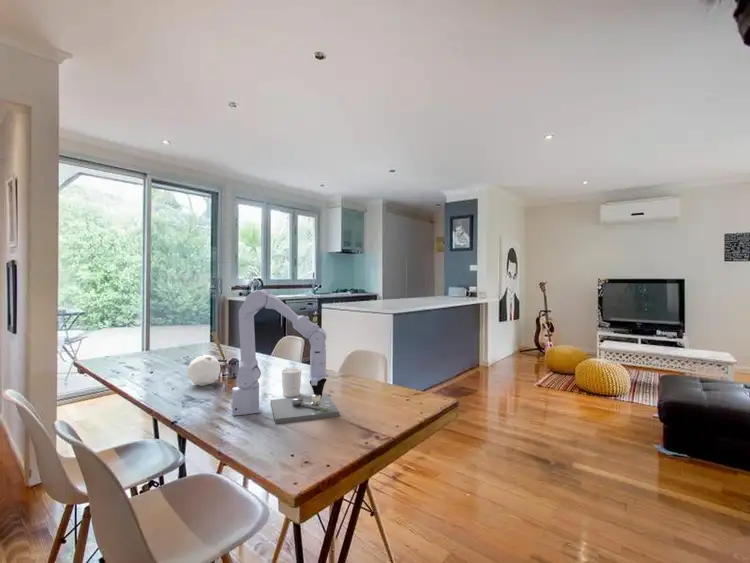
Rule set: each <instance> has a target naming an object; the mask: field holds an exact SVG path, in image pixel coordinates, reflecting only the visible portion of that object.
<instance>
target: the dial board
mask: <svg viewBox="0 0 750 563" xmlns="http://www.w3.org/2000/svg"><path fill="white" fill-rule="evenodd" d="M301 397H302V398H303V402H308V403H312V395H310V396H301ZM293 398H294V397H286V398H279V399H278V398H276V399H270V403H269V404H270V408H271V411H272V412H271V413H272V417H273V421H274V424H282V423H284V424H285V423H291V422H298V421H299V422H301V421H308V420H315V419H316V420H317V419H325V418H326V419H327V418H333V417H335V418H336V417H340V410H339V409H338V407H337V406H336V405H335V403H334V402H333V401H332V399H331V398H330V396H329V395H328V394H322V398H321V400H320V406H322V407H327V410H325V409H319V408H311V407H306V406H293V405H292V399H293Z"/></svg>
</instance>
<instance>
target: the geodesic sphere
mask: <svg viewBox="0 0 750 563" xmlns="http://www.w3.org/2000/svg"><path fill="white" fill-rule="evenodd" d="M220 373H221V364H220V361H218V359H217V358H216V357H215V356H213V355H209V354H203V355H200V356H197V357H196V358H195V359H193V360H191V361H190V363H189V366H188V369H187V374H188V379H189V380H190V381H191V382H192V383H193V384H194V385H198V386H201V387H205V386H209V385H212V384H213V383H214V382H215V381H217V380H218V379H219V376H220Z"/></svg>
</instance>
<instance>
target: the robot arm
mask: <svg viewBox="0 0 750 563" xmlns="http://www.w3.org/2000/svg"><path fill="white" fill-rule="evenodd" d="M264 308H265V309H268V310H275V311H276V312H278V313H279V314H280V315H282V316H283V317H284V318H286V320H288V321H289V322H291V324H292V328H293V330H296V331H297V332H298V333H299V334H300V335H302V336H303V338H305V339H308V343H309V344H310V350H309V352H310V353H309V359H310V360H309V361H310V362H309V364H310V365H309V370H310V371H309V379H310V380H309V385H310V386H311V389H312V392H313V394H320V395H321V398H322V395H323V392H324V388H325V384H326V382H327V378H328V377H330V373H327V349H326V348H327V345H326V341H327V333H326V331H325V330H324V329H323V328H321V327H320V326H319V325H318V324H317V325H316V324H315V323H314V322H312V321H311V320H310V317H309V316H307V315H306V316H305V315H302V314H301V315H298V314H297V312H295V311H293V309H291V308H290V307H289V306H288V305H287V304H286V303H284V302H283V301H282V300H281V299H280V298H279V297H278V296H276V295H275V294H273V293H271V292H270V291H269V290H268V289H260V290H258V289H257V290H253V291H251V292H250V293H249V294H247V295H246V296H245V299H244V301H243V303H242V305H241V306H240V308H239V310H238V325H239V326H238V327H239V328H238V330H239V344H240V345H239V346H240V362H239V365H238V372H237V373H238V374H237V375H236V378H235V379H236V380H235V381H236V385H237V386H235V387H232V395H231V396H232V400H231V401H232V403H231V405H230V406H231V408H230V409H232V411H231V412H232V413H231V415H232V416H233V417H234V416H242V415H244V416H245V415H251V414H253V415H254V414H260V413H262V412H261V405H260V383H259V379H260V378H261V374H262V371H261V368H260V367H259V362H258V359H257V355H256V334H255V317H254V316H255V315H256V314H257V313H258V312H260V310H262V309H264Z"/></svg>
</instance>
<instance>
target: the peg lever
mask: <svg viewBox="0 0 750 563" xmlns="http://www.w3.org/2000/svg"><path fill="white" fill-rule="evenodd" d="M311 396H312V403H308V402H303V398H302V397H303V396H295V397H292V398H293V399H292V405H293V406H306V407H311V408H319V409H325V410H327V407H322V406H320V400H321V395H320V394H314V393H312V395H311Z"/></svg>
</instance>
